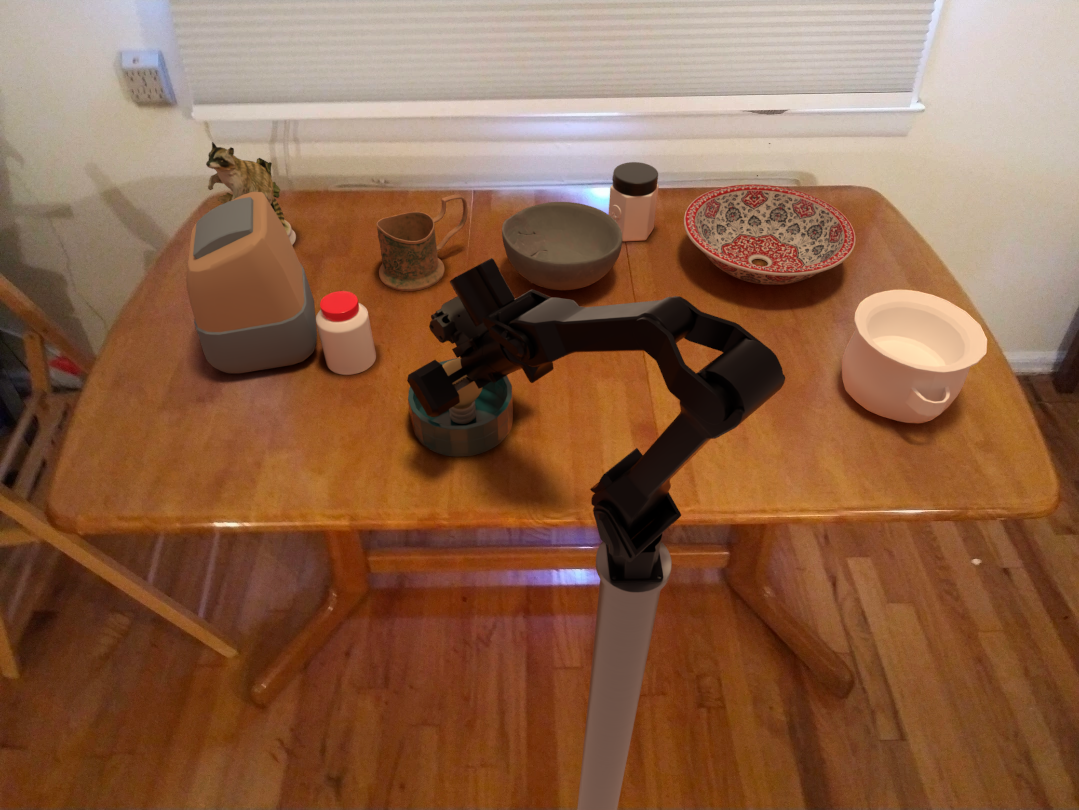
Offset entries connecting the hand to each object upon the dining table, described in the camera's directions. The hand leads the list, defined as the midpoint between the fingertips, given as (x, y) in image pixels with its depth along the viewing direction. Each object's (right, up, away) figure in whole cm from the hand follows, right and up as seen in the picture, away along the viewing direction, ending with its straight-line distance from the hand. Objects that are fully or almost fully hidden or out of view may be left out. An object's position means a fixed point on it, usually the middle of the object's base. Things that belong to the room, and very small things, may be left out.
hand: (452, 374), depth 108 cm
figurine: (-40, +26, +38) cm, 61 cm away
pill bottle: (-17, +3, +14) cm, 23 cm away
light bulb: (+1, -6, +4) cm, 8 cm away
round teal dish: (+1, -6, +5) cm, 8 cm away
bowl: (+16, +18, +30) cm, 39 cm away
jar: (+29, +29, +41) cm, 58 cm away
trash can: (-32, +5, +17) cm, 36 cm away
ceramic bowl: (+52, +21, +33) cm, 65 cm away
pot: (+65, -2, +9) cm, 66 cm away
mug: (-8, +21, +33) cm, 39 cm away
